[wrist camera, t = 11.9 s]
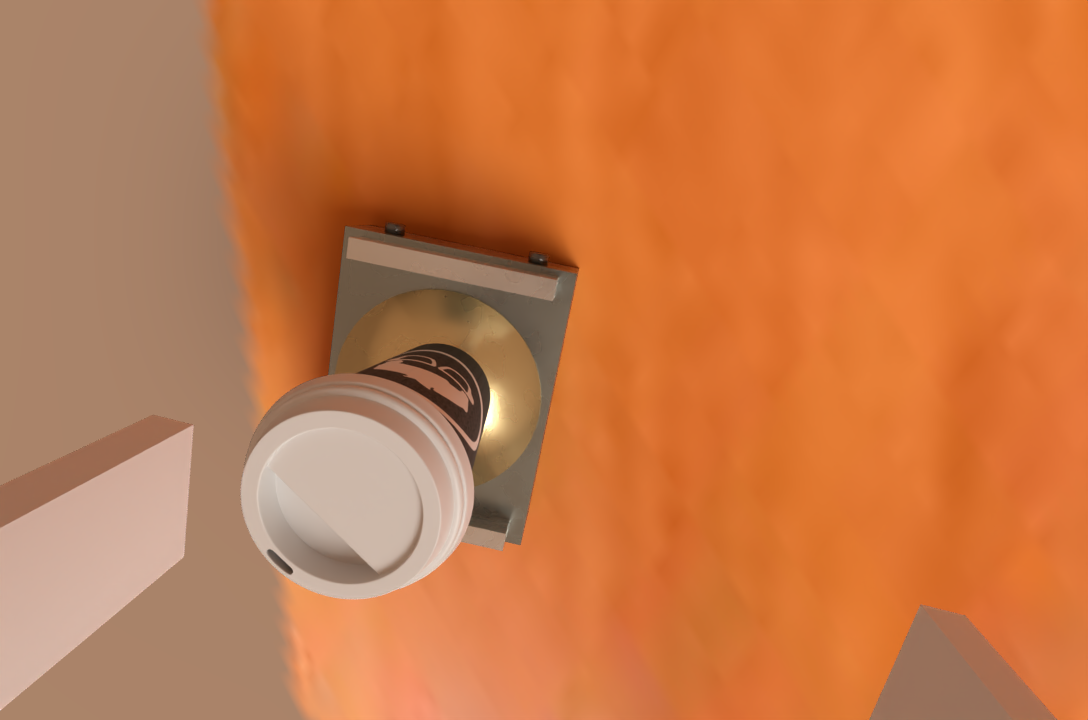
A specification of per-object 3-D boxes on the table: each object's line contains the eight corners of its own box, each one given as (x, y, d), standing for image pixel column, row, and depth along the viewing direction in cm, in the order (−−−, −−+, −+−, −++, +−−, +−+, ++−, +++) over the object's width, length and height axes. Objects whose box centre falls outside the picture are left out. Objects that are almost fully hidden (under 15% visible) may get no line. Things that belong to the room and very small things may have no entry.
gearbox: (370, 215, 40) (333, 215, 34) (580, 258, 39) (578, 265, 34) (339, 474, 44) (301, 511, 39) (527, 516, 44) (516, 560, 38)
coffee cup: (339, 347, 38) (176, 434, 23) (481, 295, 36) (403, 353, 22) (399, 484, 40) (284, 643, 25) (537, 440, 38) (500, 582, 23)
